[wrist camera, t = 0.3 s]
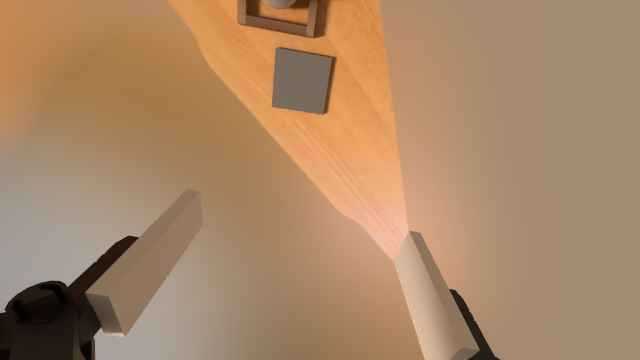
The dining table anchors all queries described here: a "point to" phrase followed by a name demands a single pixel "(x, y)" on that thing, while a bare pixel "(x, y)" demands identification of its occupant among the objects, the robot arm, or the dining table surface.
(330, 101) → the dining table surface
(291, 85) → the charcoal coaster
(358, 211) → the dining table surface
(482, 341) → the robot arm
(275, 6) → the salt shaker
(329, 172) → the dining table surface
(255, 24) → the walnut collar
